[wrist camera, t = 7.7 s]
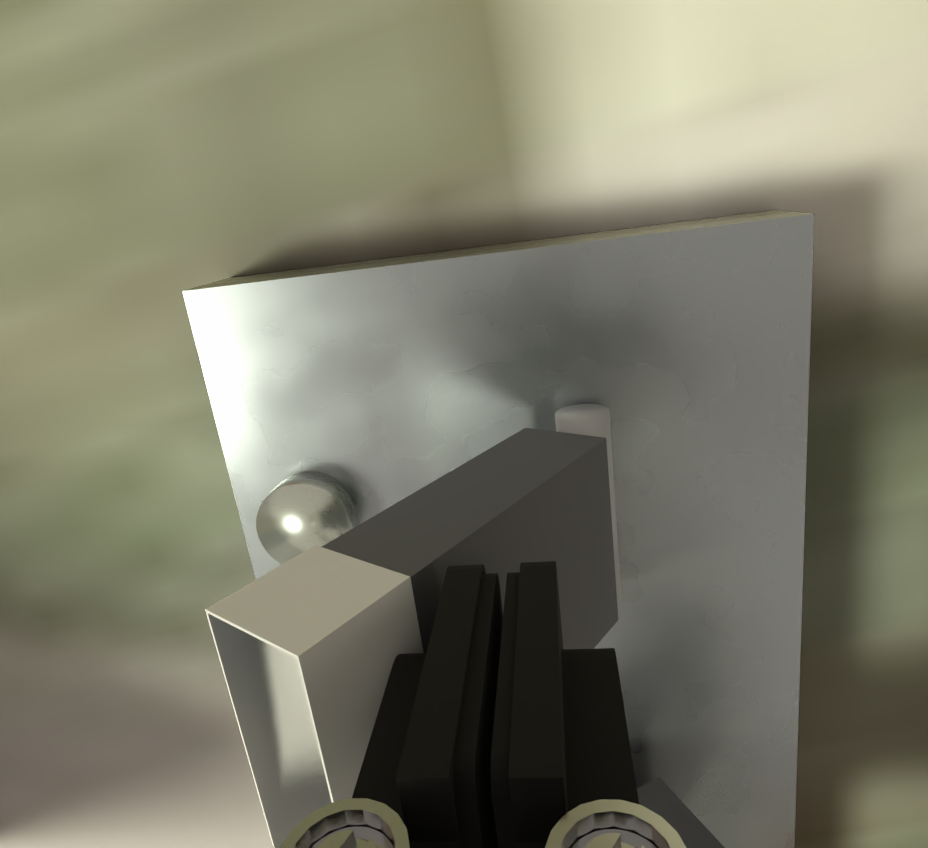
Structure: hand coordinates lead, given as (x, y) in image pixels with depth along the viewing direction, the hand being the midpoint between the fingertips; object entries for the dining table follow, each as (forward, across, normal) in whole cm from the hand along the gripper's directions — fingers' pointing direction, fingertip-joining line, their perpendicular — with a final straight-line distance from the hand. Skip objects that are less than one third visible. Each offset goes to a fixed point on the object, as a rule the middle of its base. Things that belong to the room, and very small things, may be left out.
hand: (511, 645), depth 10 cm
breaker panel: (+9, 0, +9) cm, 13 cm away
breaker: (+6, -2, +1) cm, 6 cm away
